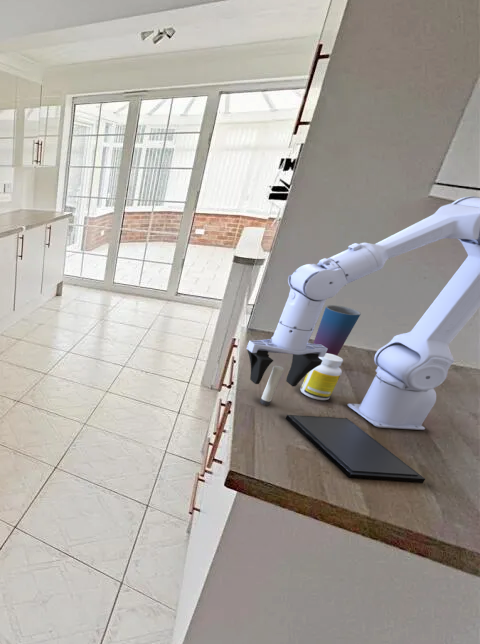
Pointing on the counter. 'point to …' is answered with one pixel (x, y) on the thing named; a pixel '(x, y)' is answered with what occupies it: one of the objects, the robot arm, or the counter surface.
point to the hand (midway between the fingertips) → (272, 382)
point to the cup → (335, 327)
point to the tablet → (353, 449)
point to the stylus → (271, 385)
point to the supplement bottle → (323, 378)
